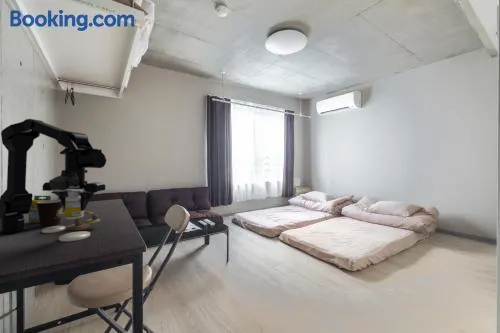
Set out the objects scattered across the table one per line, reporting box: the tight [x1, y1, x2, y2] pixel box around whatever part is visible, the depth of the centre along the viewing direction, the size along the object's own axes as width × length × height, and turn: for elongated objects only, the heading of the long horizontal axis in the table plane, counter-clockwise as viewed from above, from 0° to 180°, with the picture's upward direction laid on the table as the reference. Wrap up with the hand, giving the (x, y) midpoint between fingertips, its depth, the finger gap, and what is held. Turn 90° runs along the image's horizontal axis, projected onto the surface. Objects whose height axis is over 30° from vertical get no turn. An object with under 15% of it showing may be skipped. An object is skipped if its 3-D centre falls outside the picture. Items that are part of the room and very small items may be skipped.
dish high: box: [41, 225, 66, 234], centre depth 89 cm, size 7×7×1 cm
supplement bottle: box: [64, 189, 85, 220], centre depth 81 cm, size 5×5×10 cm
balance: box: [56, 207, 101, 231], centre depth 93 cm, size 17×5×9 cm, turn 91°
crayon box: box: [28, 195, 52, 224], centre depth 100 cm, size 7×3×12 cm, turn 93°
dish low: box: [58, 230, 91, 243], centre depth 82 cm, size 9×9×1 cm
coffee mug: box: [37, 199, 63, 228], centre depth 98 cm, size 12×9×10 cm
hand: (74, 210), depth 82 cm, fingers closed on supplement bottle, 5 cm apart
